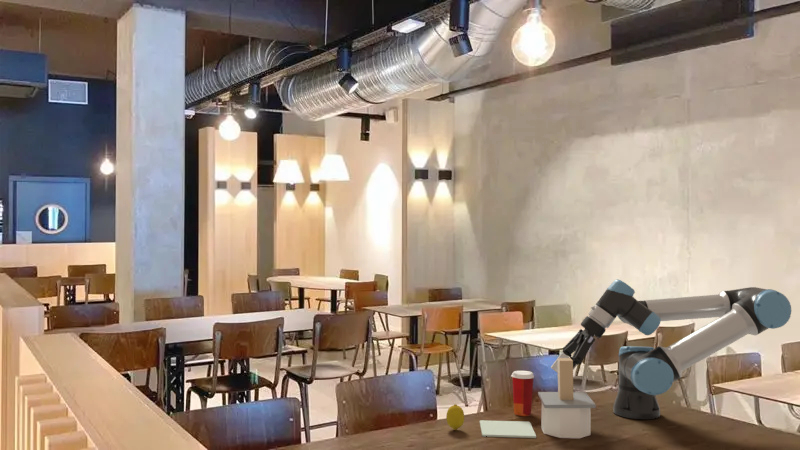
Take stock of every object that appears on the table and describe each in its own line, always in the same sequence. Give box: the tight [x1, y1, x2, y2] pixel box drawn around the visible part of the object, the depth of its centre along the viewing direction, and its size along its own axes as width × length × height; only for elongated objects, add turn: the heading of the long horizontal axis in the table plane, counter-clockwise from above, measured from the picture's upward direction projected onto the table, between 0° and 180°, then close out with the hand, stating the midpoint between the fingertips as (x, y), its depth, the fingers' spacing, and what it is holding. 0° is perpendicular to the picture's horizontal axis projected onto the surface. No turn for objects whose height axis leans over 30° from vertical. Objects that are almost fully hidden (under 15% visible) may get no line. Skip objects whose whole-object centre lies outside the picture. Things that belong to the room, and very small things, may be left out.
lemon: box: [445, 403, 465, 431], centre depth 215 cm, size 6×6×8 cm
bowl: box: [540, 403, 592, 439], centre depth 215 cm, size 14×14×9 cm
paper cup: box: [510, 370, 535, 417], centre depth 236 cm, size 8×8×14 cm
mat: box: [479, 419, 537, 439], centre depth 216 cm, size 16×16×1 cm
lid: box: [537, 357, 597, 409], centre depth 215 cm, size 15×15×13 cm
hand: (557, 374), depth 226 cm, fingers open, 13 cm apart
